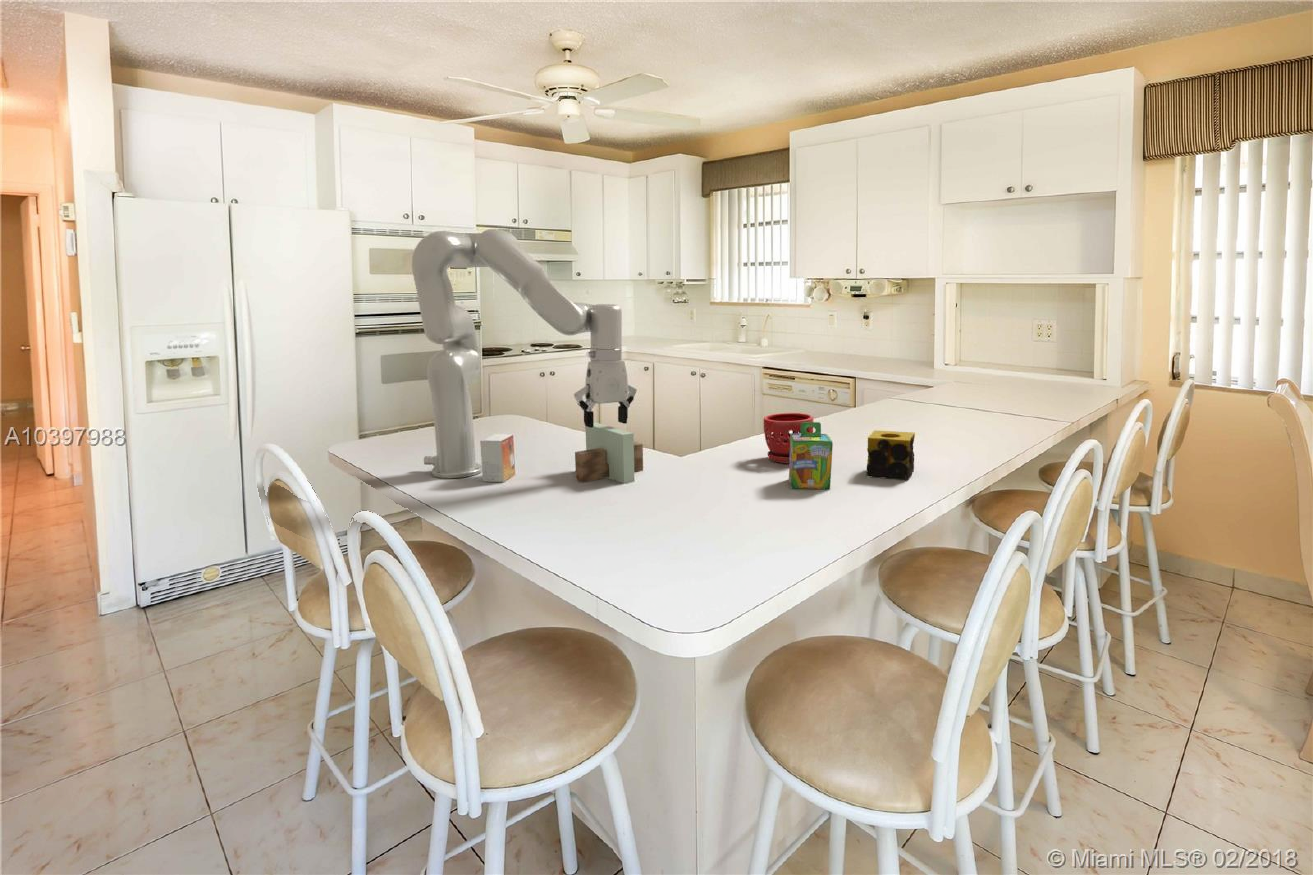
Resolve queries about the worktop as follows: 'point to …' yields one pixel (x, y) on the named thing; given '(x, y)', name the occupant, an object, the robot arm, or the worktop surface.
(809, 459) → the chalk box
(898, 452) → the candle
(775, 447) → the plant pot
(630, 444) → the green board
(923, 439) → the worktop surface
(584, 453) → the walnut board
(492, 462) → the small box
